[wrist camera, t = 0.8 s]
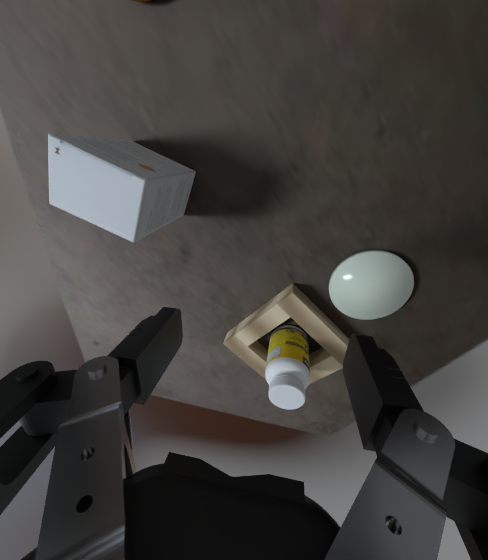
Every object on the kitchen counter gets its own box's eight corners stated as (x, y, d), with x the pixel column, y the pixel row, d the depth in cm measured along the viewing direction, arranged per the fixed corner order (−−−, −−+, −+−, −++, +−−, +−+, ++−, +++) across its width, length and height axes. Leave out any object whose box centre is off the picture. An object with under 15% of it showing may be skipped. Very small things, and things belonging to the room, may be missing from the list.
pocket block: (292, 282, 30) (292, 292, 28) (356, 345, 33) (360, 359, 31) (227, 332, 36) (223, 343, 34) (285, 382, 39) (285, 395, 37)
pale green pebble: (380, 233, 26) (382, 235, 25) (427, 288, 27) (430, 292, 27) (313, 281, 30) (313, 284, 29) (358, 327, 32) (359, 331, 31)
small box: (124, 188, 29) (45, 204, 20) (131, 138, 26) (43, 130, 17) (184, 217, 29) (133, 245, 20) (198, 171, 26) (146, 180, 17)
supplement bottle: (316, 340, 34) (323, 402, 25) (289, 358, 36) (286, 420, 28) (288, 316, 33) (285, 373, 24) (262, 337, 35) (252, 394, 27)
